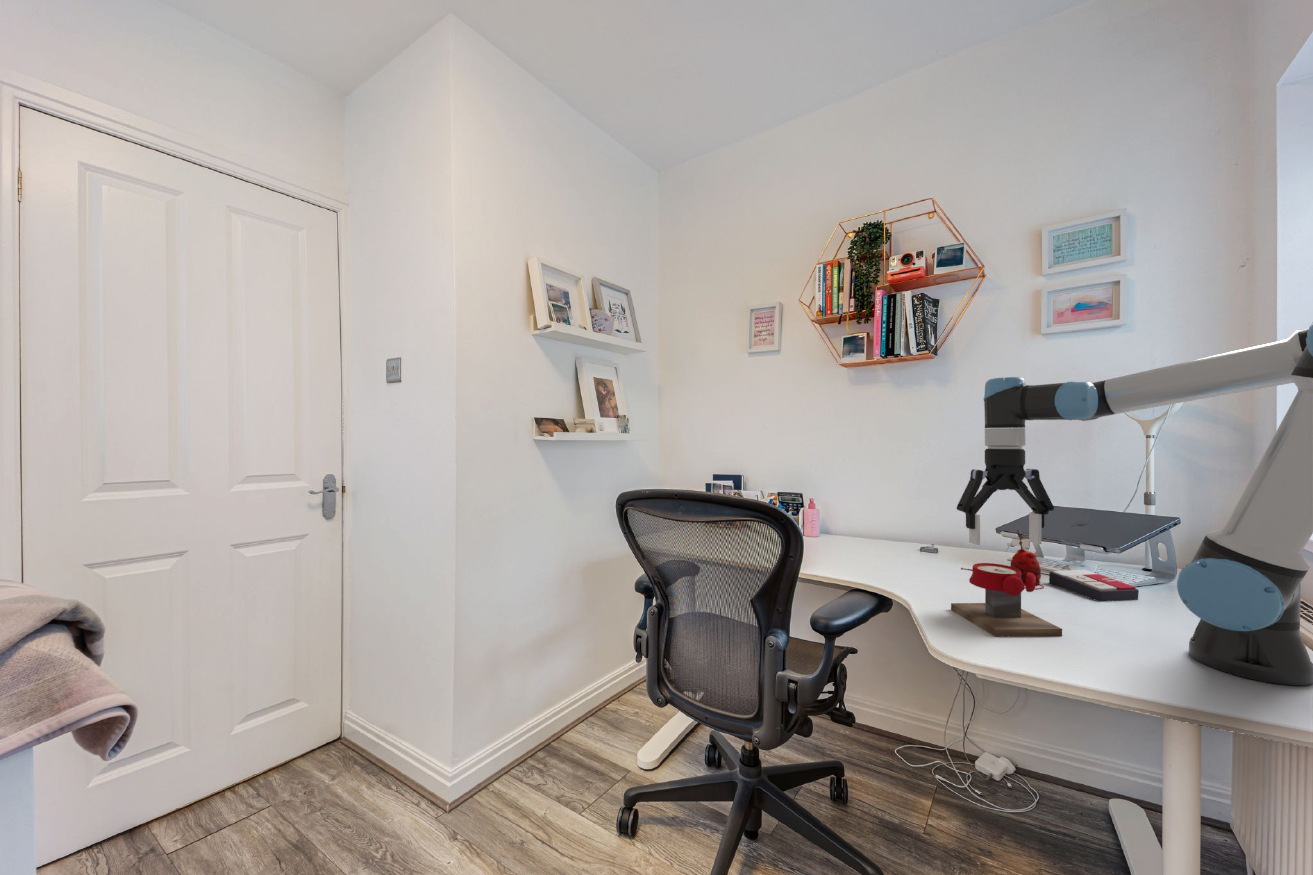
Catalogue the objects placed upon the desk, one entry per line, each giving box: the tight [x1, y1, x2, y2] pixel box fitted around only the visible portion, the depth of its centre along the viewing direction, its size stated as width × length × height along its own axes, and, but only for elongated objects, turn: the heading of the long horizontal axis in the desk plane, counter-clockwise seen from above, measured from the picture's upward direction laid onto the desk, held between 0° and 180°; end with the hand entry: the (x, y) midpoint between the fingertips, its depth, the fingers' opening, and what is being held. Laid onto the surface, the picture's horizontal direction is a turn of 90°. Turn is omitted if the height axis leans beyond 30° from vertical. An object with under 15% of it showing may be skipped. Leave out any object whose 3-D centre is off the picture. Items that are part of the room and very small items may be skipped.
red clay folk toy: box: [1010, 528, 1042, 585], centre depth 145 cm, size 8×7×15 cm
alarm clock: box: [960, 562, 1045, 595], centre depth 116 cm, size 10×6×15 cm
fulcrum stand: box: [950, 589, 1063, 638], centre depth 116 cm, size 16×14×8 cm
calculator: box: [1048, 569, 1140, 602], centre depth 137 cm, size 11×4×15 cm
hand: (1005, 543), depth 116 cm, fingers open, 13 cm apart
